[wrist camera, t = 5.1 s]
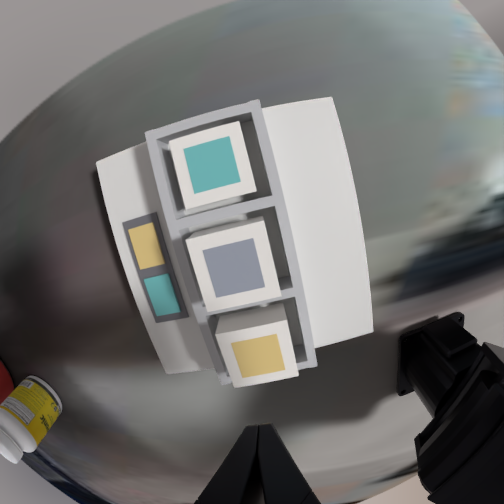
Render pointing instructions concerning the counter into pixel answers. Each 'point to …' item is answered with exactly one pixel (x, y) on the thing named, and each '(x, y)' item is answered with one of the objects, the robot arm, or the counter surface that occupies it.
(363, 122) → the counter surface
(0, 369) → the beer can
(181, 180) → the key
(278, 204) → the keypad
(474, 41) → the counter surface
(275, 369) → the key
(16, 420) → the supplement bottle
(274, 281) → the key mid
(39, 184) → the counter surface
